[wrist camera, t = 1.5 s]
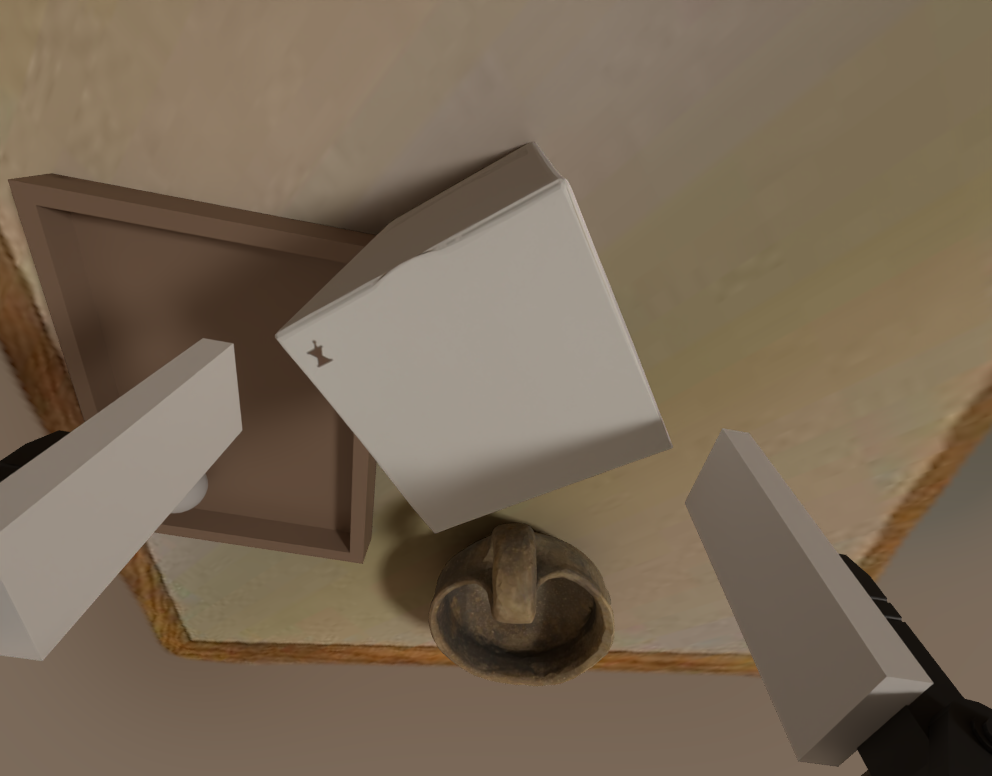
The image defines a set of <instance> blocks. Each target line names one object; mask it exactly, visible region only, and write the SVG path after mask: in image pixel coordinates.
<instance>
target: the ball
mask: <svg viewBox="0 0 992 776" xmlns="http://www.w3.org/2000/svg"><path fill="white" fill-rule="evenodd" d="M207 489H208V479H207V476H206V474H204V475H203V476H202V477H201V479H200V480H199V481H198V482H197V483H196V484H195V486H194V487H193V488H192V489H191V490H190V491H189V492H188V494H187V495H186V496H185V497H184V498H183V499H182V501H181V502H180V503H179V504H178V505H177V506H176V507H175V509H174V510H173V511H172V512H171V513H181V512H185V511H188V510H190V509H192V508H193V507H195V506H196V505H198V504H199V503H200V502H201V501H202V499H203V498H204V496H205V494H206V492H207Z"/></svg>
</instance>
